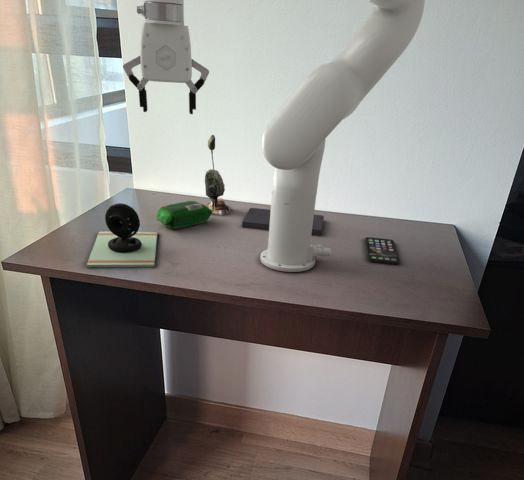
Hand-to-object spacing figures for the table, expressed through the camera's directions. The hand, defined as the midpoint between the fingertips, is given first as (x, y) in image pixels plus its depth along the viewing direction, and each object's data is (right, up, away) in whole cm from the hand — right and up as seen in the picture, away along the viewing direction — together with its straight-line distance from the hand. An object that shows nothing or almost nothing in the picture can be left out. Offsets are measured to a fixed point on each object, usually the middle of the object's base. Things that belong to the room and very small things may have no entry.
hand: (168, 112), depth 104 cm
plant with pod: (+7, -11, +36) cm, 38 cm away
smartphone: (+50, -27, +17) cm, 59 cm away
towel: (-12, -28, +8) cm, 31 cm away
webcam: (-11, -27, +8) cm, 31 cm away
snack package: (0, -18, +25) cm, 31 cm away
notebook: (+26, -16, +30) cm, 43 cm away
